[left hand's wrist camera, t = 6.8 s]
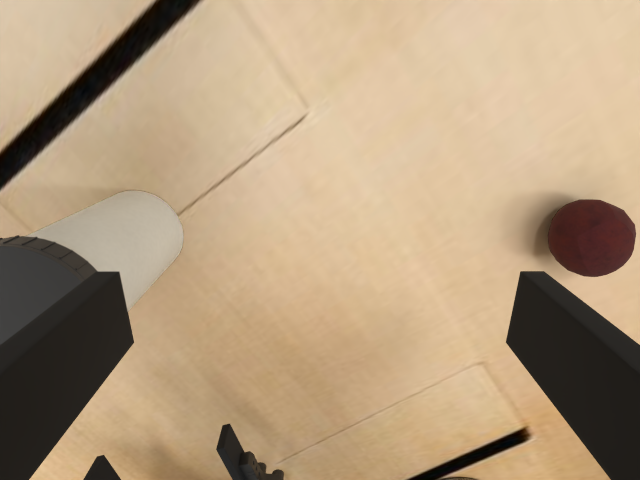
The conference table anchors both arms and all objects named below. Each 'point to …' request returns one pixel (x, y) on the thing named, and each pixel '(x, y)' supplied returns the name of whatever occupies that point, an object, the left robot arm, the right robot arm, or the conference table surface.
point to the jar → (123, 238)
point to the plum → (591, 237)
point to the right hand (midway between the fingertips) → (157, 452)
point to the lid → (35, 279)
